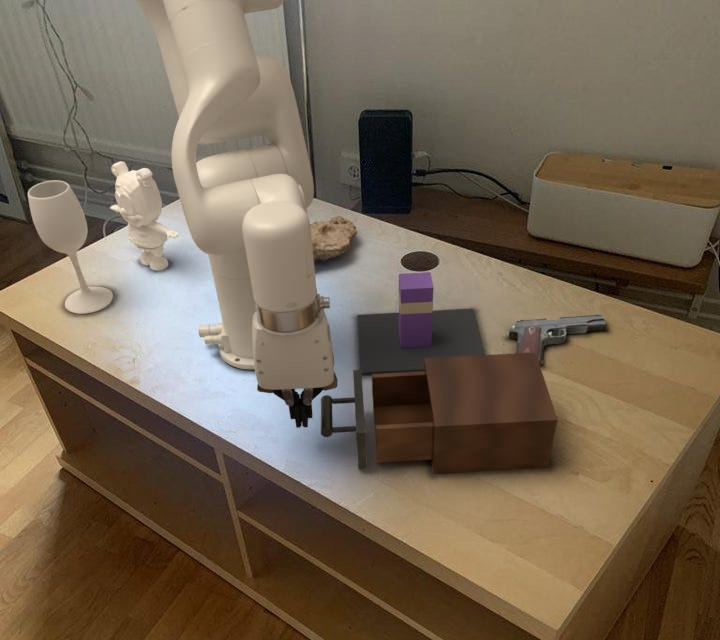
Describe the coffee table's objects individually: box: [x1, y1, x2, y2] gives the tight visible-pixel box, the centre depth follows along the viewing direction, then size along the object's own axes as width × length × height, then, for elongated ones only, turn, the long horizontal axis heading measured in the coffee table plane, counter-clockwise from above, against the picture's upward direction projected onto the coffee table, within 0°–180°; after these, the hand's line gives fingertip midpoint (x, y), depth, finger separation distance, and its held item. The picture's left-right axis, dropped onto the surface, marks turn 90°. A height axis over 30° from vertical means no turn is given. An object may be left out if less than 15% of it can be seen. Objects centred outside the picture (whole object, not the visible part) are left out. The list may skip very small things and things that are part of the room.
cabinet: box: [424, 352, 559, 474], centre depth 101 cm, size 16×14×9 cm
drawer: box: [320, 369, 434, 470], centre depth 101 cm, size 19×13×7 cm
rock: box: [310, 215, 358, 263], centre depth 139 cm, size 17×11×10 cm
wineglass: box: [27, 179, 114, 315], centre depth 125 cm, size 9×9×21 cm
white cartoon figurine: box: [109, 160, 180, 271], centre depth 133 cm, size 8×20×19 cm, turn 49°
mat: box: [357, 308, 485, 376], centre depth 120 cm, size 20×16×1 cm
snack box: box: [398, 271, 434, 348], centre depth 115 cm, size 5×4×11 cm
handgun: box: [507, 314, 607, 365], centre depth 117 cm, size 17×11×2 cm, turn 95°
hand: (302, 420), depth 101 cm, fingers closed
